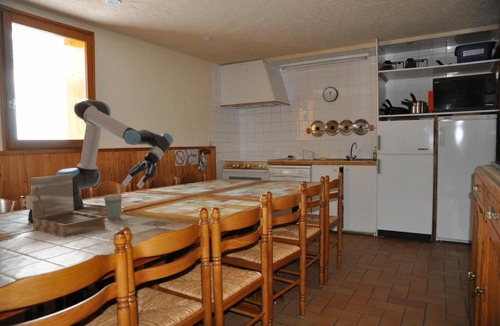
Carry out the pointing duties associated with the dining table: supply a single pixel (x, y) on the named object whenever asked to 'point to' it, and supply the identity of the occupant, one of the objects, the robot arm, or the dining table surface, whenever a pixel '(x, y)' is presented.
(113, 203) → the coffee cup
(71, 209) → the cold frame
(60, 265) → the dining table surface
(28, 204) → the character mug
